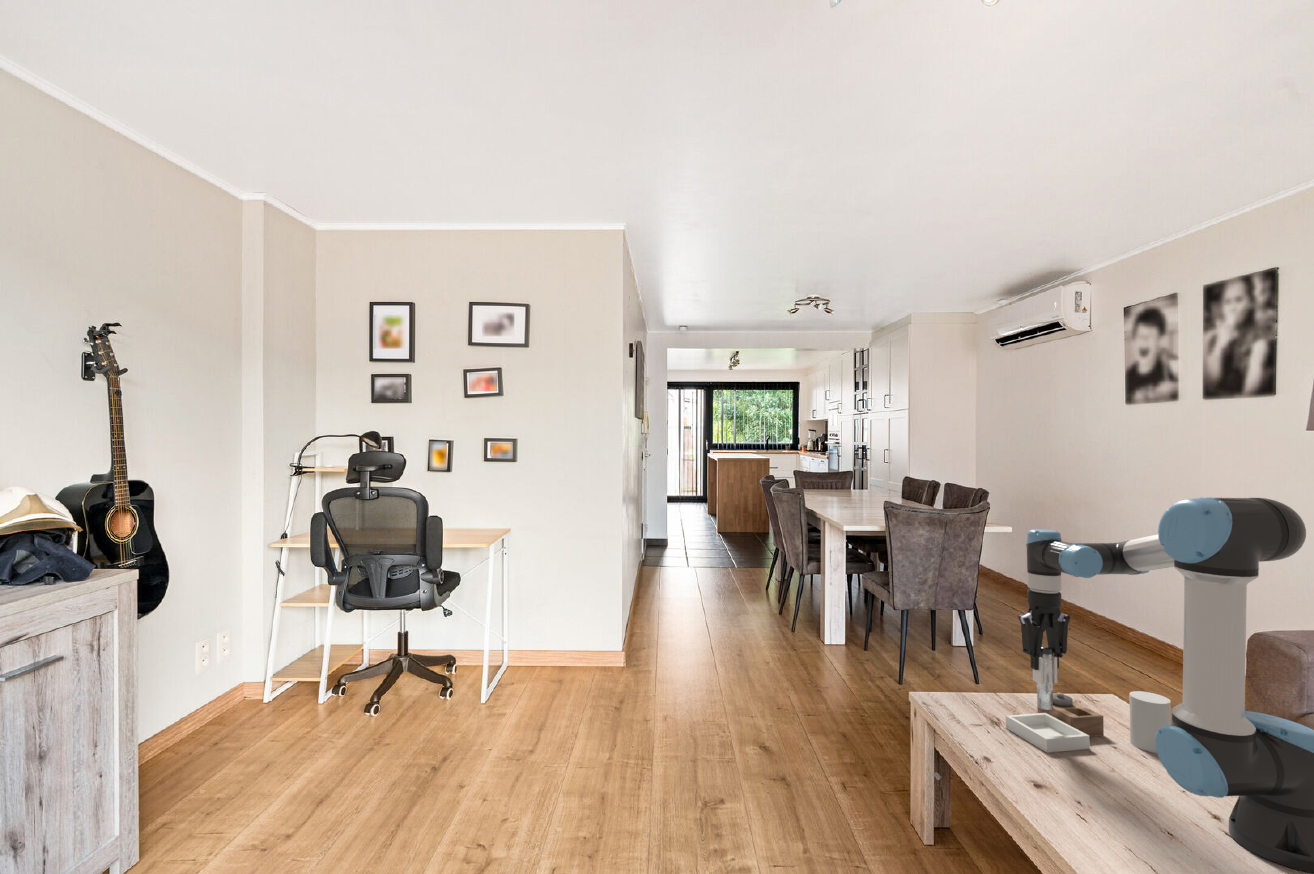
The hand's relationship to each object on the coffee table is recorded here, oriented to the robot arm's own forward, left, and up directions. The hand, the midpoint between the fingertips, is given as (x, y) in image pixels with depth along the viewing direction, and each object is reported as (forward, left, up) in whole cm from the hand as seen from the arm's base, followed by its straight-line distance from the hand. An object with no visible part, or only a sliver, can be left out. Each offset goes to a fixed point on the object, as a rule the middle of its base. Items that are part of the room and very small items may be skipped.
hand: (1045, 681), depth 162 cm
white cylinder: (-8, -22, -15) cm, 28 cm away
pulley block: (+5, -11, -14) cm, 19 cm away
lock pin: (0, 0, -7) cm, 7 cm away
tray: (0, 0, -14) cm, 14 cm away
